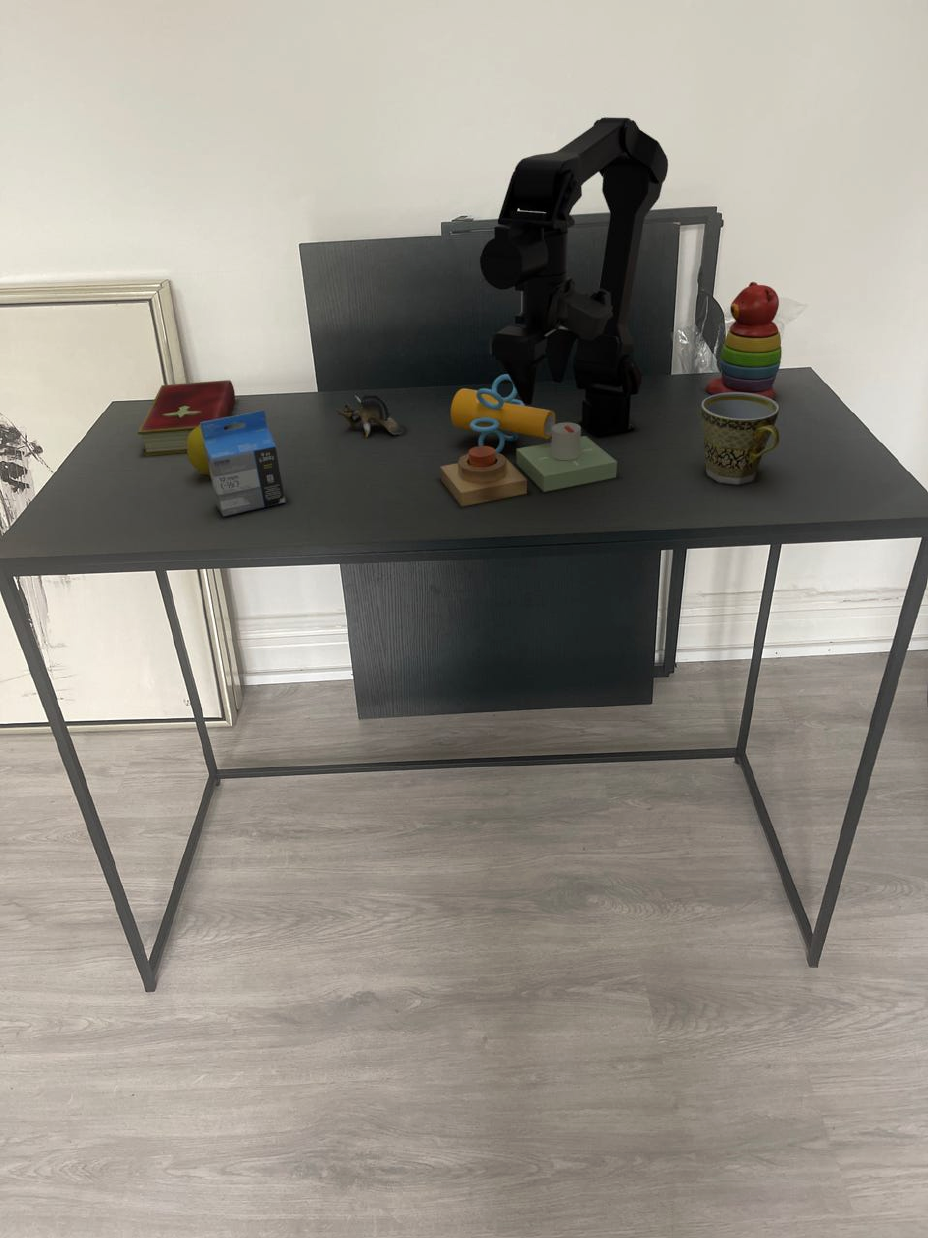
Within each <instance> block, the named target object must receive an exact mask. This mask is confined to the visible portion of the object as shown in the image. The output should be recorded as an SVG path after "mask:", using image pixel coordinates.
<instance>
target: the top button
mask: <svg viewBox="0 0 928 1238" xmlns="http://www.w3.org/2000/svg"><path fill="white" fill-rule="evenodd" d="M495 449H496V448H494V447H492V446H488V445H484V446H479V445H478V446H477V445H476V446H474V447H472V448H470V449H469V450H468V453H469V464H470V466H474V467H488V466H492V465H494V464H495Z"/></svg>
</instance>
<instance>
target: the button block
mask: <svg viewBox="0 0 928 1238" xmlns="http://www.w3.org/2000/svg"><path fill="white" fill-rule="evenodd" d="M439 469H440V471H439V473H440V481H441V482H442V484H443V485H444V487H446V489H447V490H448V491H449V492H450V494H451V495H452V497H453V498H454V499H455V501H457V503H458V504H459V506H461V507H467V506H471V505H477V504H482V503H486V502H491V501H496V500H502V499H507V498H511V497H516V496H521V495H525V494H528V479H527V478H526V477H525V476H524V475H523V474H522V473H521V471H519V470H518V469H517V468H516V467H515V466H514V464H513V463H512V462H510V460H509V459H508V458H507V457H506V456H505V455H503V454H502V453H496V452H495V464H494V465H492V466H488V467H474V466H470V464H469V452H467V453H465V454H464V455H461V456H460V457H459V459H458V462H457V463H451V464H446V465H440V466H439Z"/></svg>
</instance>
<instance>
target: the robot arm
mask: <svg viewBox="0 0 928 1238" xmlns="http://www.w3.org/2000/svg"><path fill="white" fill-rule="evenodd" d="M668 170H669V160H668V157H667V155H666V153H665V151H664V149H663V147H662V146H661V143H660V142H659V141H658V139H657V140H656V139H655V138H653V136H651V135H649V134H647V132H645V131H643V130H642V129H640V128H639V126H638V124H637V122H636V121H635V120H633V119H631V118H630V117H601V118H600V119H596V120H595V121H594V123H593V125H592V126H591V127H589V128H588V129H587V130H585V131H584V132H582V133H580V135H578V136H577V137H575V138H574V139H572V140H571V141H570V142H569V143H567V144H565V145H564V146H562V147H561V148H560V149H558V150H556V151H553V152H548V153H547V152H546V153H540V154H534V155H531V156H528V157H527V156H526V157H524V158H522V159H521V160H520V161H519V162H518V163H516V166H515V167H514V171H513V172H512V174H511V176H510V180H509V183H508V186H507V190H506V193H505V195H504V199H503V202H502V205H501V208H500V212H499V215H498V218H497V224H498V225H495V226H494V229H493V230H494V231H493V233H494V234H493V235H494V238H492V239H490V240H489V241H488V242H487V243H486V244H485V245H484V246H483V249H482V251H481V255H480V257H479V265H480V270H481V273H482V275H483V277H484V279H485V280H486V282H487V283H488V284H489V285H490V286H492V287H493V288H495V289H497V290H502V291H504V290H509V289H511V288H514V291H518V292H519V291H520V303H521V304H520V312H519V313H516V314H515V315H514V324H516V325H523V326H524V327H522V326H513V325H507V326H506V327H504V328H501V330H499V331H497V332H495V333H494V334H493V335H492V337H490V339H489V355H490V356H491V357H494V358H495V360H496V361H499V362H500V363H501V365H502V367H503V368H504V370H505V371H506V374H508V375H509V376H510V378H511V380H512V382H513V384H514V386H515V388H516V390H517V392H518V393H517V395H518V396H519V398H520V401H522V402H523V404H525V405H526V406H527V405H528V406H530V405H531V404H533V399H534V398H533V397H534V392H535V384H536V377H537V376H536V375H537V367H538V366H539V365H540V364H541V363H542V362H543V361H544V360H545V359H547V363H548V367H549V372H550V375H551V378H552V381H553V382H554V383H557V384H560V383H562V382H563V379H564V376H565V372H566V369H567V366H568V363H569V360H570V356H571V353H572V349H573V347H574V345H575V341H577V344H576V350H575V353H574V356H573V363H572V366H573V367H572V368H573V373H574V379H575V385H576V389H579V390H585V393H584V395H585V396H584V398H582V401H581V402H582V404H581V419H579V425H581V426H583V427H584V428H585V429H587V431H589V432H590V433H591V434H593V435H594V436H595V437H604V436H609V435H615V434H620V433H625V432H626V433H627V432H630V431H634V430H635V426H634V425H633V424H632V423H630V417H631V415H630V414H631V399H632V396H635V395H638V394H639V390H640V388H641V384H642V377H643V373H642V371H641V369H640V368H639V365H638V363H637V362H636V360H635V359H634V354H635V353H634V352H635V343H634V340H633V337H632V335H631V331H630V329H629V327H628V320H629V312H630V306H631V301H632V295H633V290H634V289H633V288H634V282H635V276H636V270H637V266H638V265H637V264H638V258H639V252H640V245H641V240H642V234H643V228H644V222H645V217H646V216H647V215H648V213H649V212H650V211H651V209H652V208H653V207H654V206H655V204H656V203H657V202H658V200H659V199H660V196H661V192H662V188H663V183H664V182H665V180H666V179H667V175H668V172H669V171H668ZM597 173H599V174H600V176H601V177H602V187H601V191H602V195H603V198H604V200H605V202H606V205H607V209H608V211H609V218H608V225H607V231H606V239H605V244H604V251H603V258H602V265H601V270H600V278H599V284H598V289H597V290H595V291H594V292H593V293H592V294H591V295H589V293H587V292H585V293H580V292H578V291H576V281H575V280H574V277H573V276H568V252H569V251H568V246H569V229H570V228H571V227H574V226H575V224H576V221H575V219H574V217H573V216H572V215H570V214H571V212H572V209H573V208H574V206H575V205H576V204H577V203H578V201H580V199H581V198H582V196H583V191H582V190H583V187H582V186H583V185H584V183H586V182H587V181H589V180H590V179H592V177H594V176H595V175H596V174H597ZM512 382H511V383H512ZM513 384H512V385H513Z"/></svg>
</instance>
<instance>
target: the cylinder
mask: <svg viewBox="0 0 928 1238" xmlns="http://www.w3.org/2000/svg"><path fill="white" fill-rule="evenodd" d="M503 381H510V382H511V384H512V391H511V393H510V394H509V395H508V396H506V397H502V396H501V394H499V393H498V386H499V384H500V383H502V382H503ZM517 395H518V392H517V390H516V388H515V386H514V384H513V382H512V380H511V378H510V376H509V375H508V373H504V374H501V375H499V376H498V377H496V378H495V379H494V381H493V383H492V386H491V389H490V388H479V389H478V390H477V389H470V388H460V389H459V390H458V391H456V393H455V395H454V397H453V399H452V401H451V406H450V420H451V423H452V425H453V426H454V427H455V428H457V429H459V430H463V431H464V430H465V431H469V432H473V433H480V435H479V438H478V440H477V442H478V444H477V445H478V446H485V445H484V444H485V443H484V441H485V439H486V437H487V436H488V435H489V434H494V435H495V436H496V437H497V438H499V443H498V445H497V447H496V448H494V449H495V452H496V453H499V454H501V452H502V451H503V449H504V447H505V445H506V442H515V441H517V440H518V439H519V434H520V435H524V436H530V437H535V438H541V439H544V440H549V439H550V438H552V426H554V425H555V424H556V420H557V419H556V413H555V411H554V410H549V409H544V408H538V407H533V406H529V405H528V406H527V405H526V404H523V402H522V400H521V399H516V397H517ZM502 431H505V432H509V433H511V434H512V435H510V436H509V435H506V434H504V432H502Z"/></svg>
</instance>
